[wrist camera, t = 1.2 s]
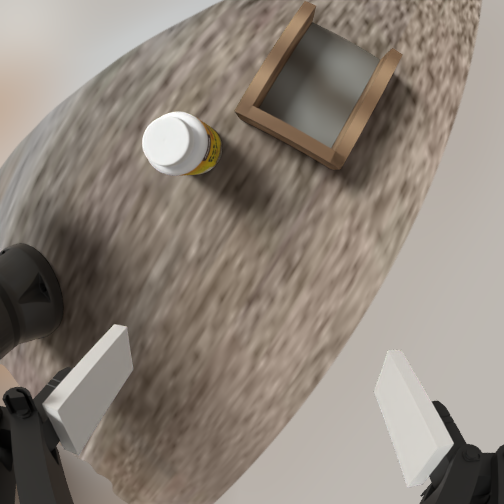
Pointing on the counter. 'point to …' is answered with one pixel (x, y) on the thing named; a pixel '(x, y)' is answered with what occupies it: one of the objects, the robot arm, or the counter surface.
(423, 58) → the counter surface
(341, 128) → the walnut u rest
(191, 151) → the supplement bottle
